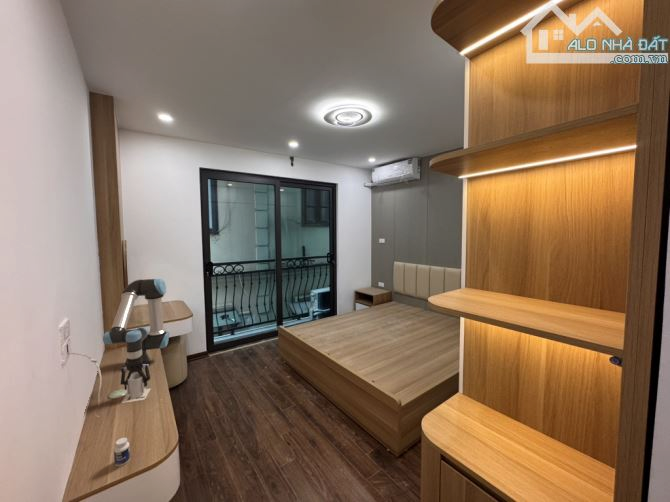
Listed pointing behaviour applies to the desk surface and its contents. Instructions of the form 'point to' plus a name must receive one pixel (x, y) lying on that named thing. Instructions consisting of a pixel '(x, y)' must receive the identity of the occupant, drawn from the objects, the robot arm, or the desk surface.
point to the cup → (135, 385)
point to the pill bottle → (121, 452)
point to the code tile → (128, 399)
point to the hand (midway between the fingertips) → (136, 392)
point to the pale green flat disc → (118, 393)
